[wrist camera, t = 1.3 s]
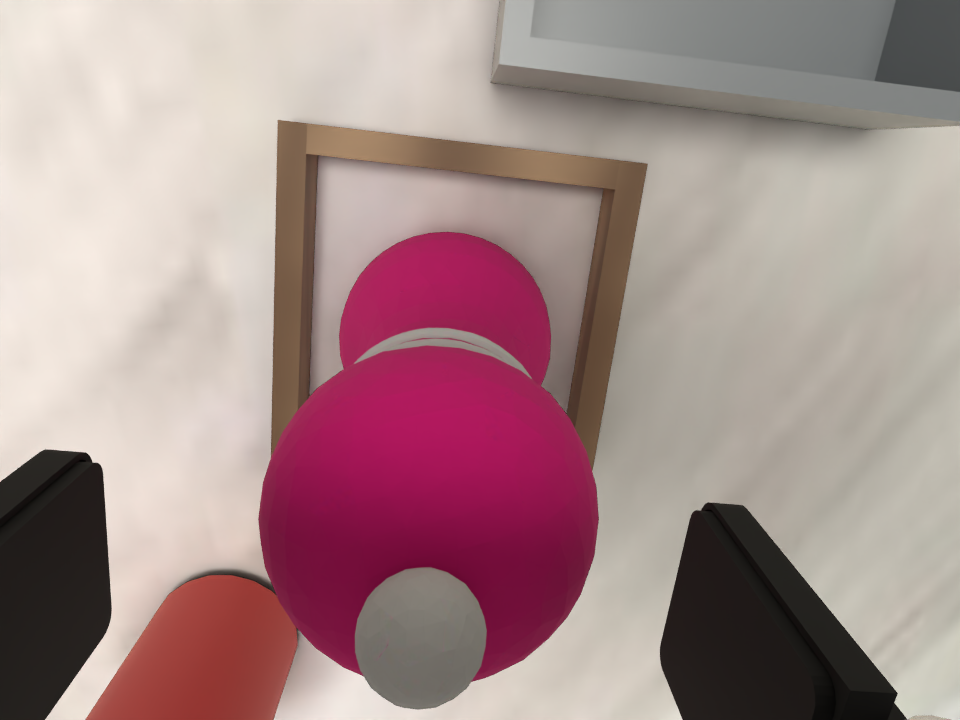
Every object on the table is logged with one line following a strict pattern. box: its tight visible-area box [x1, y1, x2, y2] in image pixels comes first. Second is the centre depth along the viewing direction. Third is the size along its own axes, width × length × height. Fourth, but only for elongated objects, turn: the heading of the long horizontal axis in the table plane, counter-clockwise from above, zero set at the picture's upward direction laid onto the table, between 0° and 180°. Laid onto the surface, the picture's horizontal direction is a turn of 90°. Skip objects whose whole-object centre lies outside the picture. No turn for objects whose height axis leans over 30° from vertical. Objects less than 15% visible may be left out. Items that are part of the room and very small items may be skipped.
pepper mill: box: [258, 232, 599, 709], centre depth 18 cm, size 7×7×20 cm
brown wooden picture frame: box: [271, 120, 648, 470], centre depth 26 cm, size 13×13×2 cm
